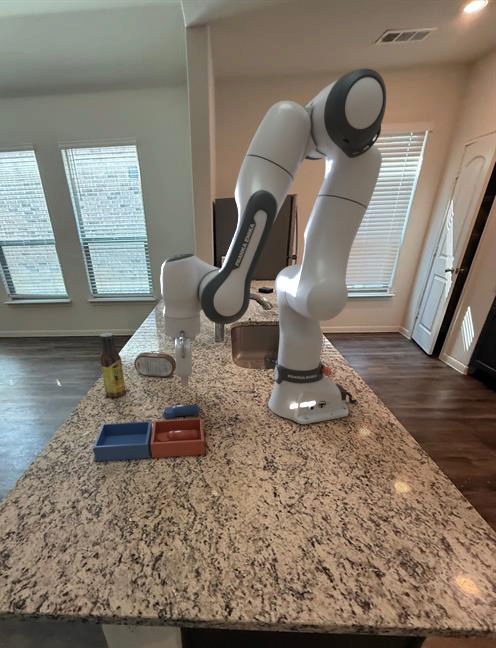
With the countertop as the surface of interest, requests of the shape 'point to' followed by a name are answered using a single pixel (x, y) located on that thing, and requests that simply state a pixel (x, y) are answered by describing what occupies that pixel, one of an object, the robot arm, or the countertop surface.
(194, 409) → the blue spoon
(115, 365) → the sauce bottle
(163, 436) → the red lumpy bar
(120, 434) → the blue bin
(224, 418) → the countertop surface
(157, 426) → the red bin
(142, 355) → the tin
